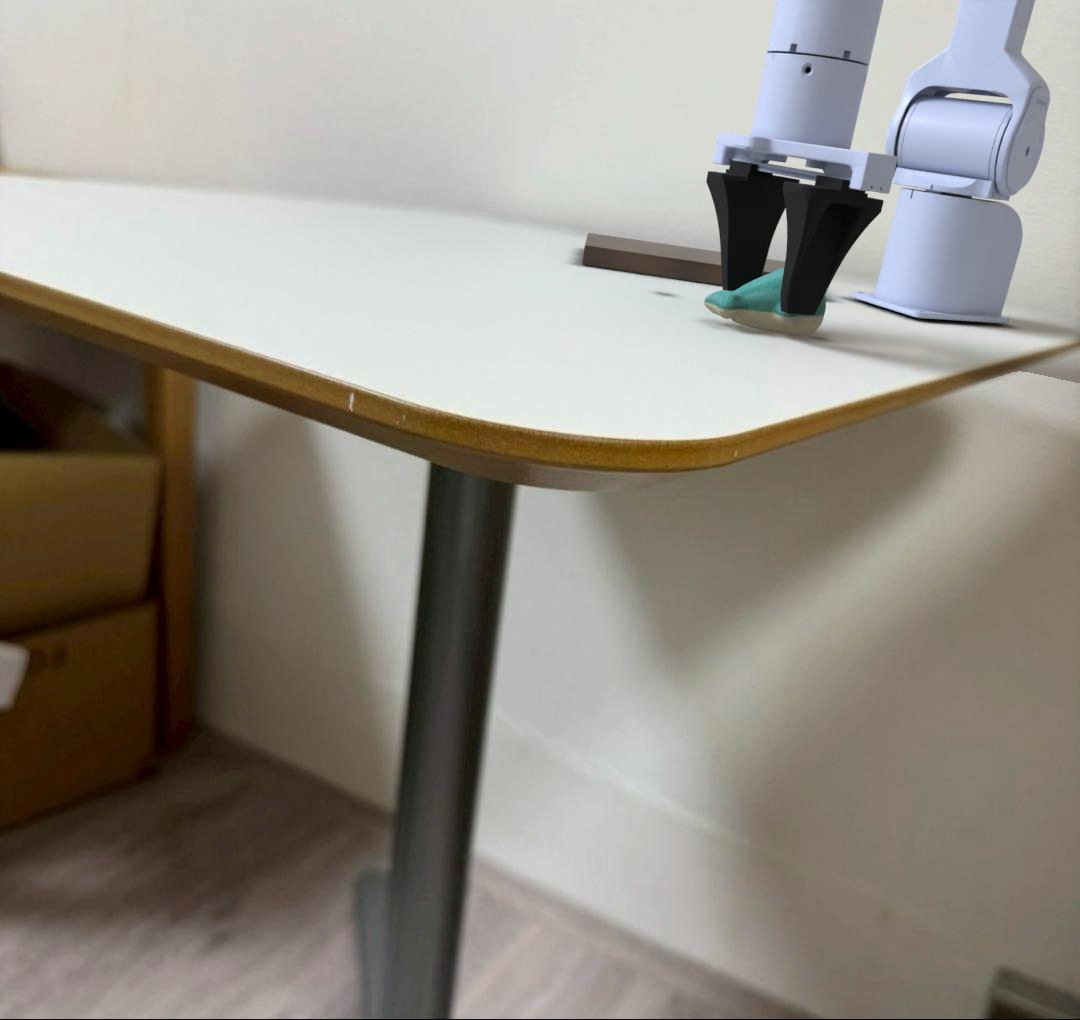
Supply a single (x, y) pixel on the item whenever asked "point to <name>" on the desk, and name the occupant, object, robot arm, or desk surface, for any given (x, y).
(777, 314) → the whale figurine
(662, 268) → the walnut board
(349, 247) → the desk surface
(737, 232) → the robot arm
